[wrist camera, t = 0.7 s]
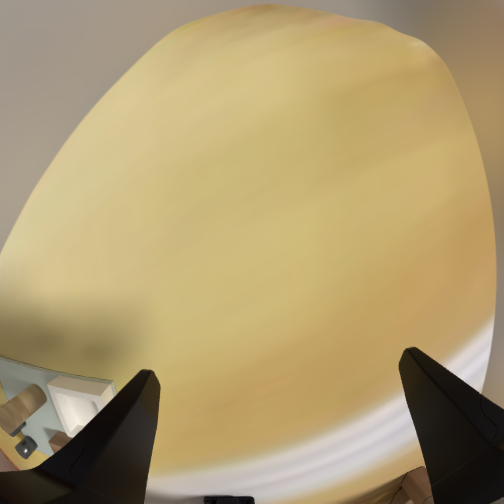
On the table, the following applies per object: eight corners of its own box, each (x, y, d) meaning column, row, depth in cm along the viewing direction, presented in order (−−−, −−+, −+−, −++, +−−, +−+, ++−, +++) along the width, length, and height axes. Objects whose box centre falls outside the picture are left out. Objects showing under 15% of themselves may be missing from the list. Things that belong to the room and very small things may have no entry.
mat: (148, 479, 23) (147, 483, 22) (32, 444, 22) (30, 447, 21) (113, 380, 22) (110, 384, 21) (-5, 354, 21) (-8, 356, 20)
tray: (126, 436, 22) (119, 449, 19) (76, 425, 21) (67, 436, 19) (110, 384, 21) (100, 395, 19) (58, 375, 21) (46, 384, 19)
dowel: (49, 405, 21) (15, 437, 13) (35, 400, 21) (0, 429, 13) (42, 386, 21) (4, 415, 13) (28, 381, 21) (-10, 408, 13)
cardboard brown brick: (123, 475, 22) (117, 489, 19) (74, 461, 21) (66, 473, 18) (109, 444, 22) (100, 459, 19) (58, 430, 21) (47, 442, 18)
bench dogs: (39, 449, 21) (29, 461, 18) (30, 445, 21) (19, 455, 17) (22, 414, 21) (9, 425, 17) (12, 410, 21) (0, 420, 17)
